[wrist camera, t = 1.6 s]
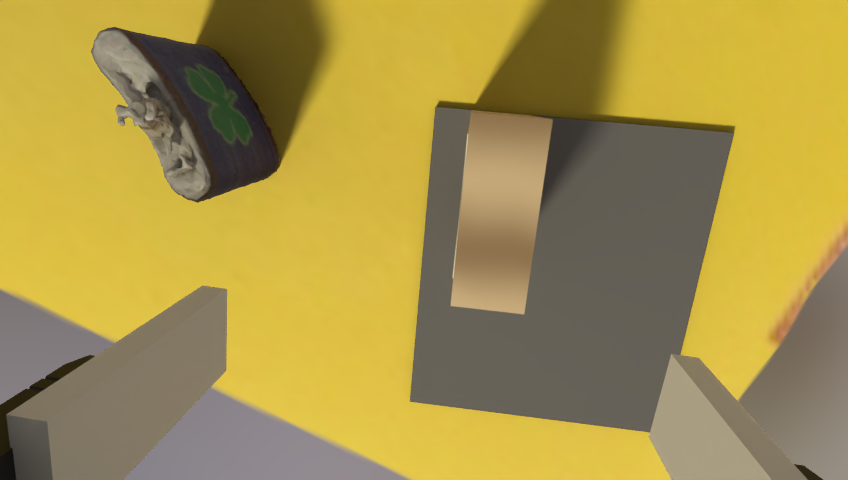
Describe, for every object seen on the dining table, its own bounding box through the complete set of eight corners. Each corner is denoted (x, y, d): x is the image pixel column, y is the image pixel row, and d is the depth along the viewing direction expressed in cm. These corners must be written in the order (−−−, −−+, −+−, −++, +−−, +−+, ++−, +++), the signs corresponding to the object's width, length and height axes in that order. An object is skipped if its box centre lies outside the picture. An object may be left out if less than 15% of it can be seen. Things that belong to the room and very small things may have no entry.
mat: (436, 106, 32) (435, 106, 31) (730, 132, 31) (733, 133, 30) (410, 398, 37) (409, 401, 37) (658, 430, 36) (661, 433, 36)
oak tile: (470, 110, 31) (469, 111, 22) (528, 114, 31) (552, 119, 21) (456, 248, 34) (449, 305, 24) (509, 254, 33) (524, 314, 24)
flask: (182, 58, 33) (48, 37, 22) (218, 35, 32) (98, 2, 22) (256, 184, 34) (165, 219, 24) (292, 165, 34) (214, 192, 23)
